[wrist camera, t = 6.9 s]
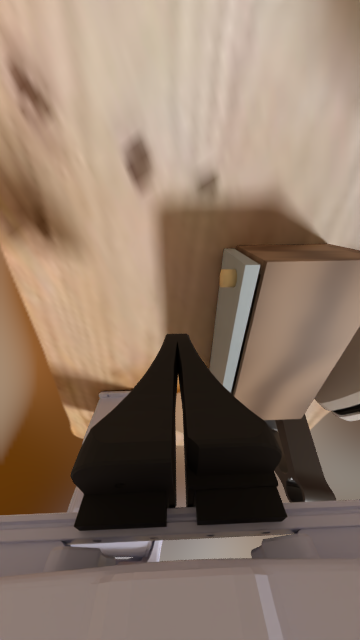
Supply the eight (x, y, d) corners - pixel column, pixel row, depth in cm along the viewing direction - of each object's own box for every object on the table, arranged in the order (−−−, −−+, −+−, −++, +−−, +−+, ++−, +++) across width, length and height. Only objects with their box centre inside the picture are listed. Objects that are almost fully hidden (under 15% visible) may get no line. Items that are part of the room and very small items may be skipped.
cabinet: (217, 378, 27) (228, 421, 21) (237, 245, 17) (267, 262, 11) (275, 376, 27) (301, 418, 22) (328, 244, 17) (401, 259, 12)
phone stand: (277, 401, 31) (329, 496, 21) (302, 409, 32) (362, 501, 22) (246, 427, 35) (276, 516, 25) (269, 433, 36) (307, 519, 26)
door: (201, 378, 26) (208, 418, 21) (213, 248, 17) (230, 265, 12) (214, 378, 26) (224, 418, 21) (234, 248, 17) (260, 264, 12)
